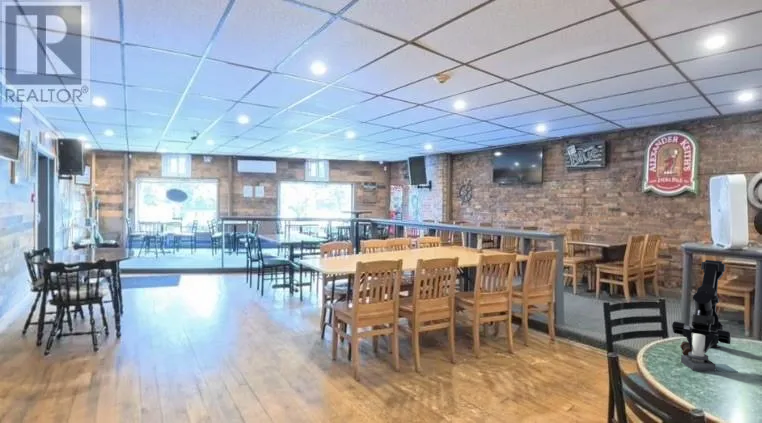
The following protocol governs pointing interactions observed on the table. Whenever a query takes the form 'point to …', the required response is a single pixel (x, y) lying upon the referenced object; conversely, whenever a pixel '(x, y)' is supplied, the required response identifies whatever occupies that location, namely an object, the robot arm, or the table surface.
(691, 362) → the block
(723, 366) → the mat
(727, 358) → the table surface
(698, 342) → the pin
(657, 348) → the table surface
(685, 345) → the bolt
